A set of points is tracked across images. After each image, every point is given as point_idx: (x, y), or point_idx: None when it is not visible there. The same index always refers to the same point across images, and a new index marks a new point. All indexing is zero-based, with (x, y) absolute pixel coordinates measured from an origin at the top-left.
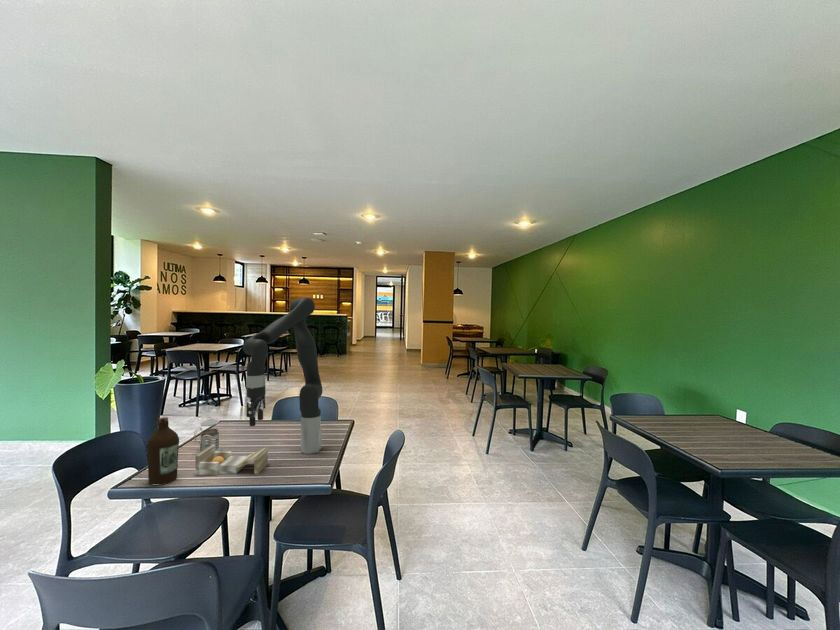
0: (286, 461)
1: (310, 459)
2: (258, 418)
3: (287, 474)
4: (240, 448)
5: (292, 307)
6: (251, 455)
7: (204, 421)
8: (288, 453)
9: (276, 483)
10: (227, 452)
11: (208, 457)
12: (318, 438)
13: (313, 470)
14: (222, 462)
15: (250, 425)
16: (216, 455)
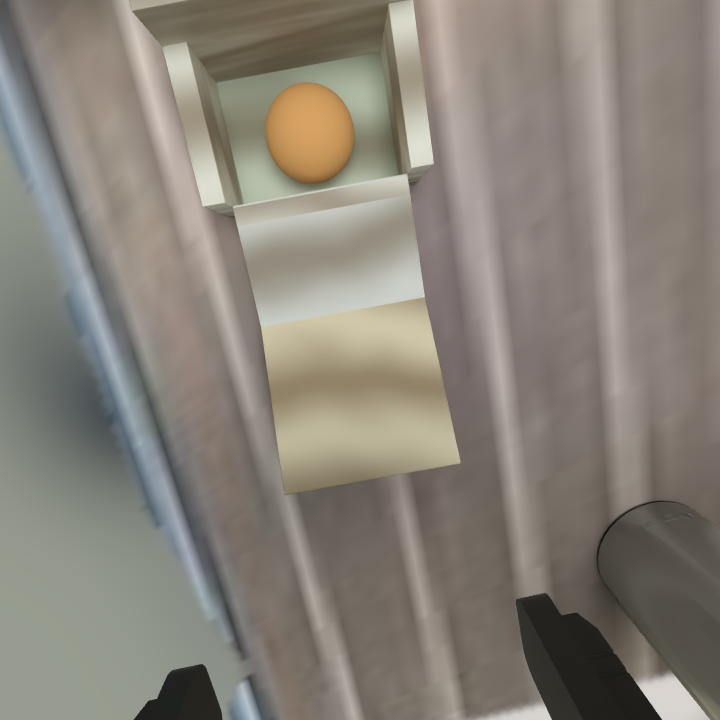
0: (483, 500)
1: None
2: (528, 627)
3: (329, 583)
4: (676, 60)
5: None
6: (381, 371)
7: None
8: (600, 453)
9: (227, 584)
10: (409, 135)
11: (303, 25)
12: (684, 685)
13: (396, 670)
14: (306, 180)
15: (173, 684)
16: (389, 44)
